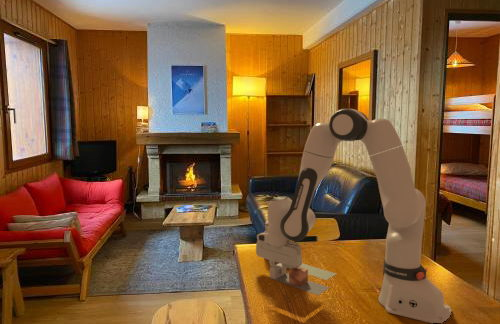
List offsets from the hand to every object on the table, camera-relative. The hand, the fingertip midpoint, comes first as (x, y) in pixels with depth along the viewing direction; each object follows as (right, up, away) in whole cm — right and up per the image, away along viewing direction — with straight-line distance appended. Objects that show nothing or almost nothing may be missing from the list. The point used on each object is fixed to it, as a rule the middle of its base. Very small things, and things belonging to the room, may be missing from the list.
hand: (278, 272), depth 152 cm
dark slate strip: (+7, -3, -6) cm, 10 cm away
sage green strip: (+13, -2, +6) cm, 14 cm away
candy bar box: (+1, 0, +22) cm, 22 cm away
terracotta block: (+7, -2, -6) cm, 10 cm away
